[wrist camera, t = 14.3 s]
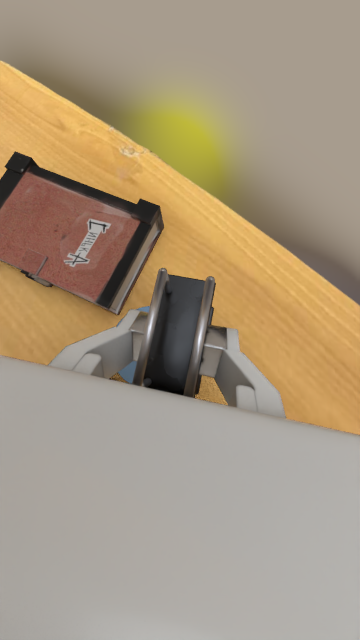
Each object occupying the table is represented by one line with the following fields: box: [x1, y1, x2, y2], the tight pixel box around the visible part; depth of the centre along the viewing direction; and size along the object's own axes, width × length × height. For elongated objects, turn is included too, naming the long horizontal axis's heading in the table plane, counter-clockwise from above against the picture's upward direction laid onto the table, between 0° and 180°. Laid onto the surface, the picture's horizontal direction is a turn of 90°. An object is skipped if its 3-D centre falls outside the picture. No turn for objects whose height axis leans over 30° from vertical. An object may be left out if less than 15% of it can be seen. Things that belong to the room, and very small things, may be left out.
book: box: [0, 152, 164, 315], centre depth 33 cm, size 26×18×5 cm
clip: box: [132, 268, 216, 398], centre depth 11 cm, size 5×3×8 cm, turn 169°
